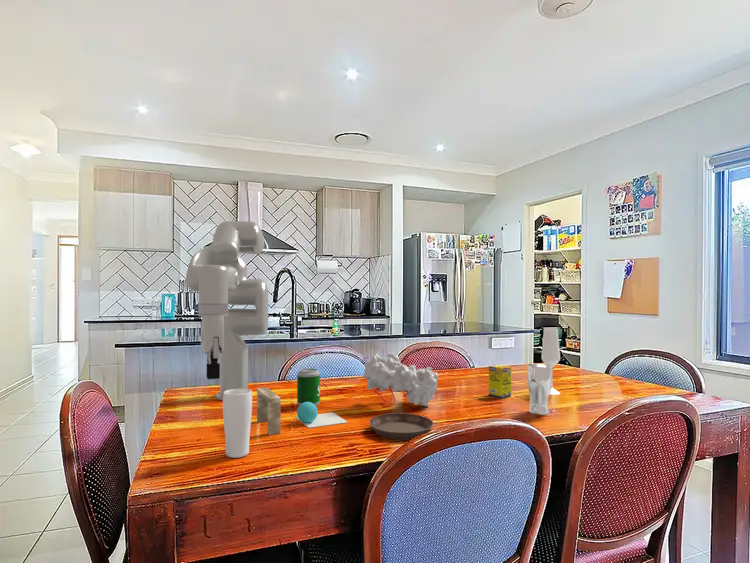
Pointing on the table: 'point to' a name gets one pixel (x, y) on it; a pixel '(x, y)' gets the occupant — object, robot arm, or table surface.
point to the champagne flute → (551, 352)
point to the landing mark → (325, 420)
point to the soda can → (308, 386)
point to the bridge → (269, 409)
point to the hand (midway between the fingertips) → (213, 378)
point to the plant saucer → (400, 425)
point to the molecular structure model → (400, 379)
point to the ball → (307, 412)
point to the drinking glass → (237, 421)
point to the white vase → (539, 388)
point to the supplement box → (500, 381)
